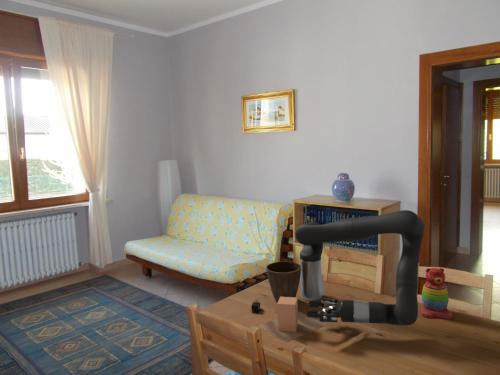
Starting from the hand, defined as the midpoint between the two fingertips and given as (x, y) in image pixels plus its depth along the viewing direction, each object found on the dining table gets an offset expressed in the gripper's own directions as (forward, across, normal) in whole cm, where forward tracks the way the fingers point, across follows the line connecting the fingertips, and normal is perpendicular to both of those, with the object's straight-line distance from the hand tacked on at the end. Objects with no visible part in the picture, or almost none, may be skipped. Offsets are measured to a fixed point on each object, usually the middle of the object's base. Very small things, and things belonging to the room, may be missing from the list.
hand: (308, 308), depth 138 cm
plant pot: (+12, -24, +9) cm, 28 cm away
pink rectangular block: (+7, 0, +8) cm, 11 cm away
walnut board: (+6, -2, +9) cm, 11 cm away
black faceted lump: (+22, -12, +9) cm, 27 cm away
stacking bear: (-47, -23, +9) cm, 53 cm away
